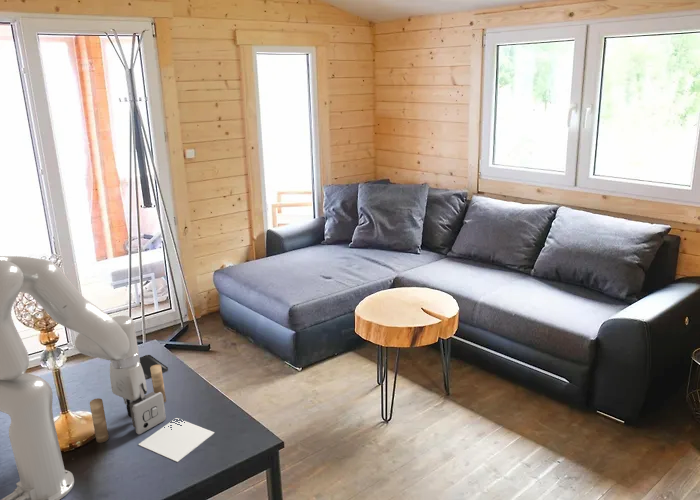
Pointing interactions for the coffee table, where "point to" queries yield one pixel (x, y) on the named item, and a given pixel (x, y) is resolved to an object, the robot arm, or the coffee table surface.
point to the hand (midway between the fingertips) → (134, 414)
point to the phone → (148, 362)
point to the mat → (176, 439)
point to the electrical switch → (147, 412)
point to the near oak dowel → (99, 420)
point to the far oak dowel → (157, 380)
